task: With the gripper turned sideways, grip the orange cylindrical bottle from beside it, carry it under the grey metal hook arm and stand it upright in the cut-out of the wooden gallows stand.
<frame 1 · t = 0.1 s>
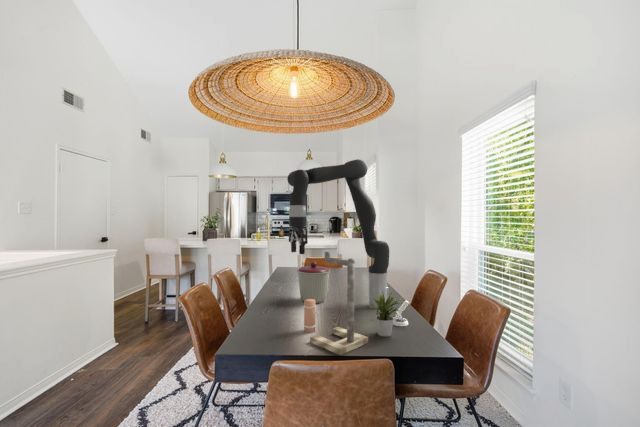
hand: (297, 253, 137), 29 cm above the table, tool pointing down, fingers open, 8 cm apart
orange cylindrical bottle: (309, 330, 124), on the table
canister: (313, 301, 168), on the table
house plant: (384, 335, 120), on the table
wooden gallows stand: (334, 340, 115), on the table
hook: (399, 323, 134), on the table
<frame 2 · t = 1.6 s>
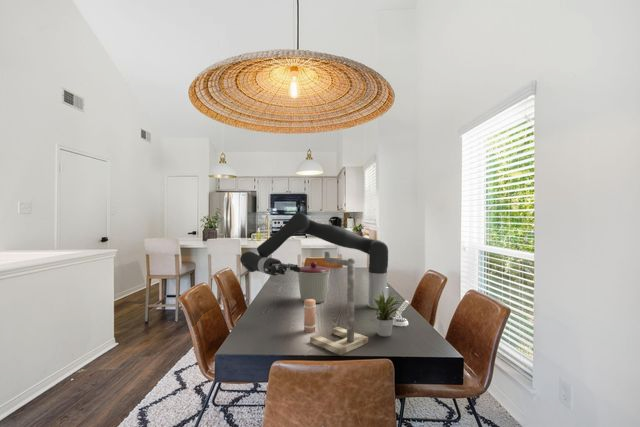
hand: (292, 271, 132), 22 cm above the table, tool horizontal, fingers open, 8 cm apart
nothing on the table moved.
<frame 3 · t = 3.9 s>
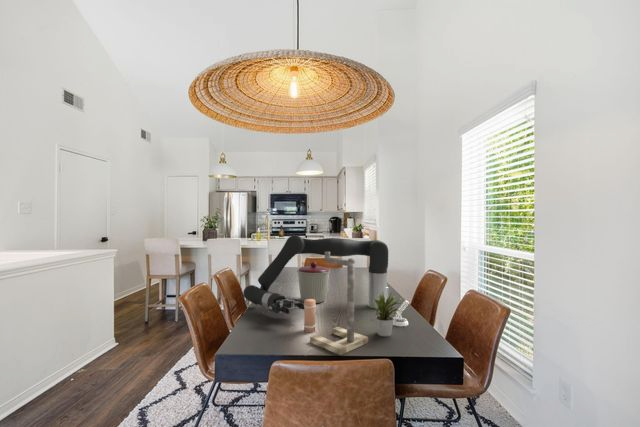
hand: (296, 309, 130), 7 cm above the table, tool horizontal, fingers open, 8 cm apart
nothing on the table moved.
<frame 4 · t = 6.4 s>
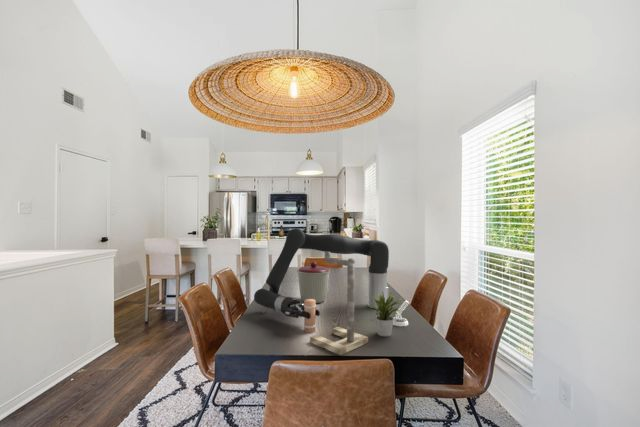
hand: (314, 314, 122), 7 cm above the table, tool horizontal, fingers closed on orange cylindrical bottle, 4 cm apart
orange cylindrical bottle: (309, 330, 124), on the table, touching gripper
everything else where it was.
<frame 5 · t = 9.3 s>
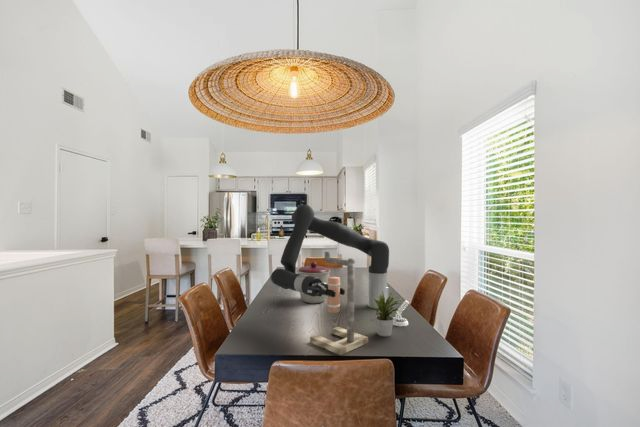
hand: (339, 292, 113), 18 cm above the table, tool horizontal, fingers closed on orange cylindrical bottle, 4 cm apart
orange cylindrical bottle: (333, 310, 115), point 11 cm above the table, touching gripper
everything else where it was.
when the fingers open (8 cm above the table, at t = 12.5 s): orange cylindrical bottle drops 1 cm, on the table.
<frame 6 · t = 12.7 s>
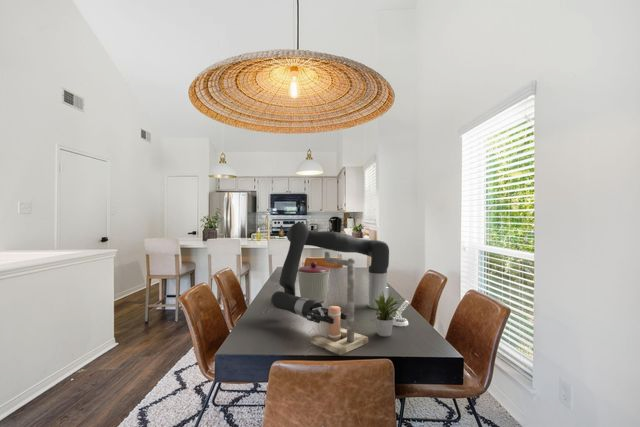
hand: (339, 318, 113), 9 cm above the table, tool horizontal, fingers open, 6 cm apart
orange cylindrical bottle: (334, 340, 115), on the table
everything else where it was.
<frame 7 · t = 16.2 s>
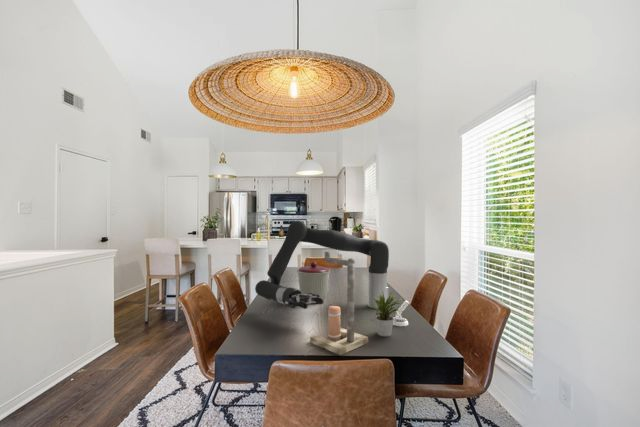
hand: (314, 303, 123), 11 cm above the table, tool horizontal, fingers open, 8 cm apart
nothing on the table moved.
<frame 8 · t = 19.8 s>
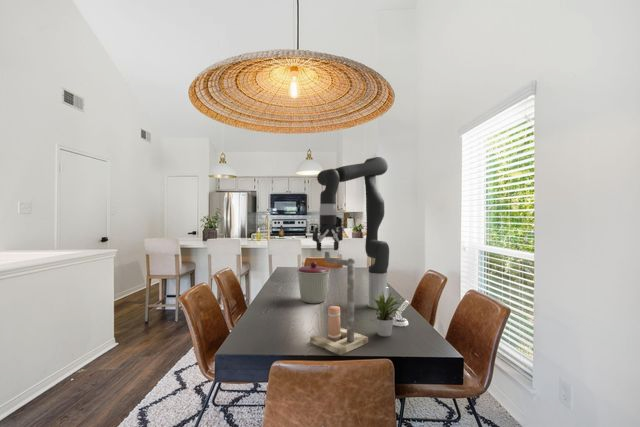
hand: (327, 250, 140), 30 cm above the table, tool pointing down, fingers open, 8 cm apart
nothing on the table moved.
at the end: orange cylindrical bottle 0.1 cm off-centre on the wooden gallows stand, point 0.0 cm above the wooden gallows stand's base; orange cylindrical bottle tilted 1°; the gripper is holding nothing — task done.
